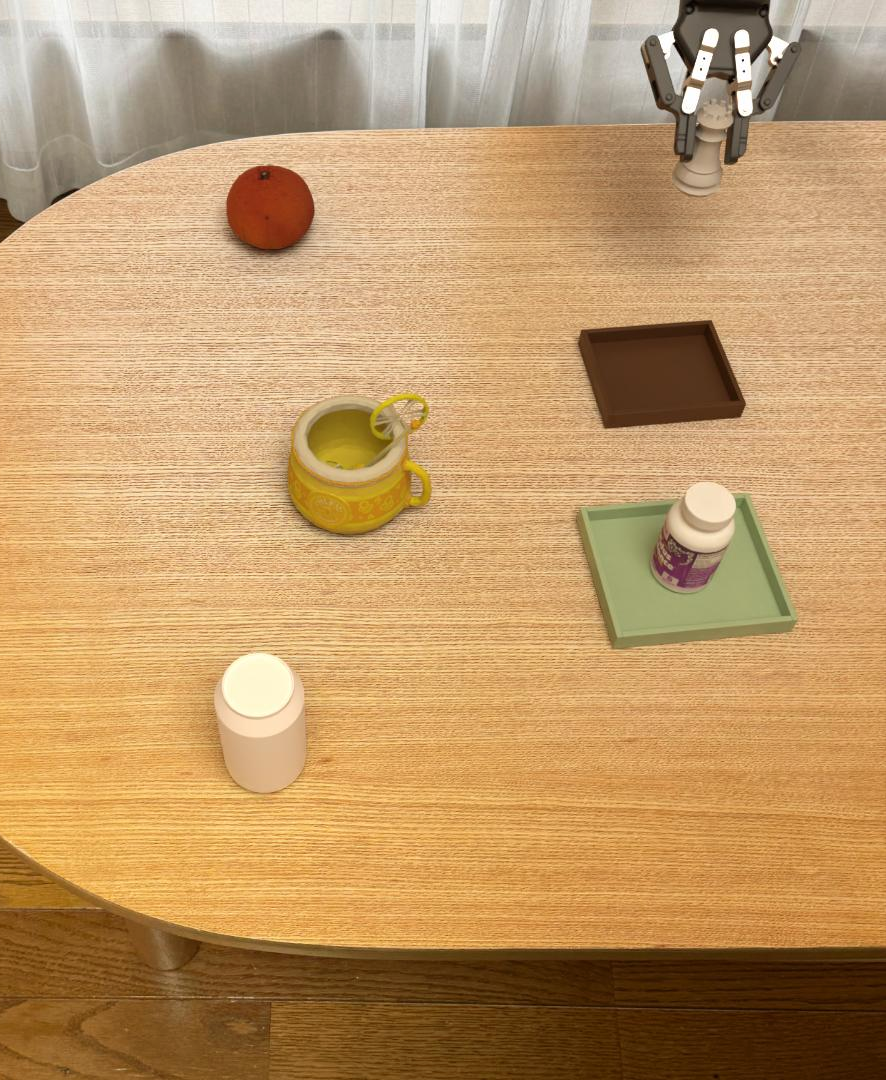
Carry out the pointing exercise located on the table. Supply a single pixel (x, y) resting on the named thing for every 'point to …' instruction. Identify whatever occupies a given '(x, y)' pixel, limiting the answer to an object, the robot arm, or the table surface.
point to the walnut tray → (660, 374)
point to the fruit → (270, 207)
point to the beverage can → (261, 722)
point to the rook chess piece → (705, 152)
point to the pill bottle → (694, 538)
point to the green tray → (670, 617)
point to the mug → (354, 462)
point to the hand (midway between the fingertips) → (708, 161)
